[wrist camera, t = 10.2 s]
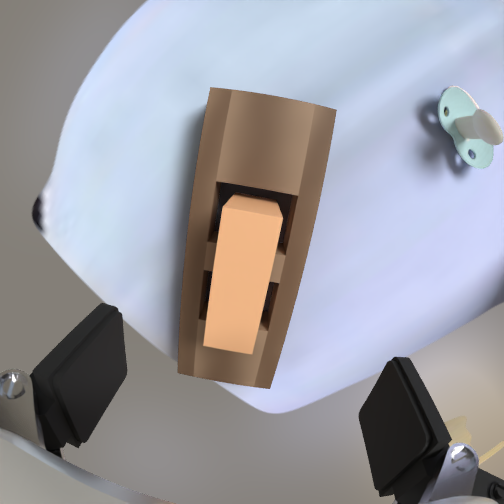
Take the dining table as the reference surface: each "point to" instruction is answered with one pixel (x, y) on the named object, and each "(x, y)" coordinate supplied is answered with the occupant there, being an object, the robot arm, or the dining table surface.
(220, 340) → the clip
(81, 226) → the dining table surface
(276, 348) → the rail
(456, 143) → the pacifier
